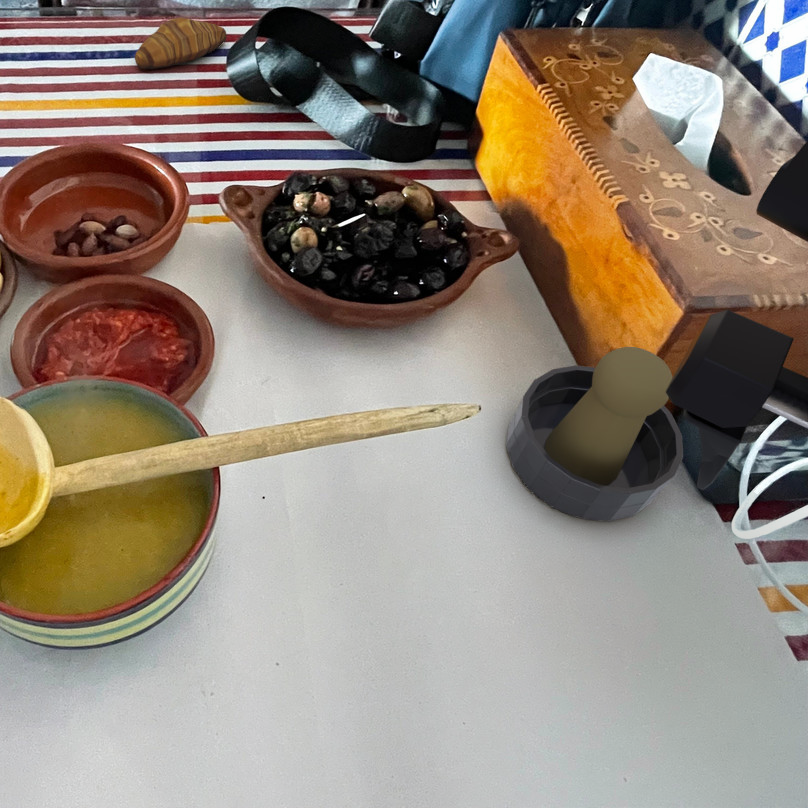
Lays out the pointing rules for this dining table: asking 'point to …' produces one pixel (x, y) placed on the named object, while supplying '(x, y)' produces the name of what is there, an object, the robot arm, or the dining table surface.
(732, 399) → the robot arm
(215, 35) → the croissant
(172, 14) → the dining table surface
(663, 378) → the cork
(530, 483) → the dark grey faceted bowl
